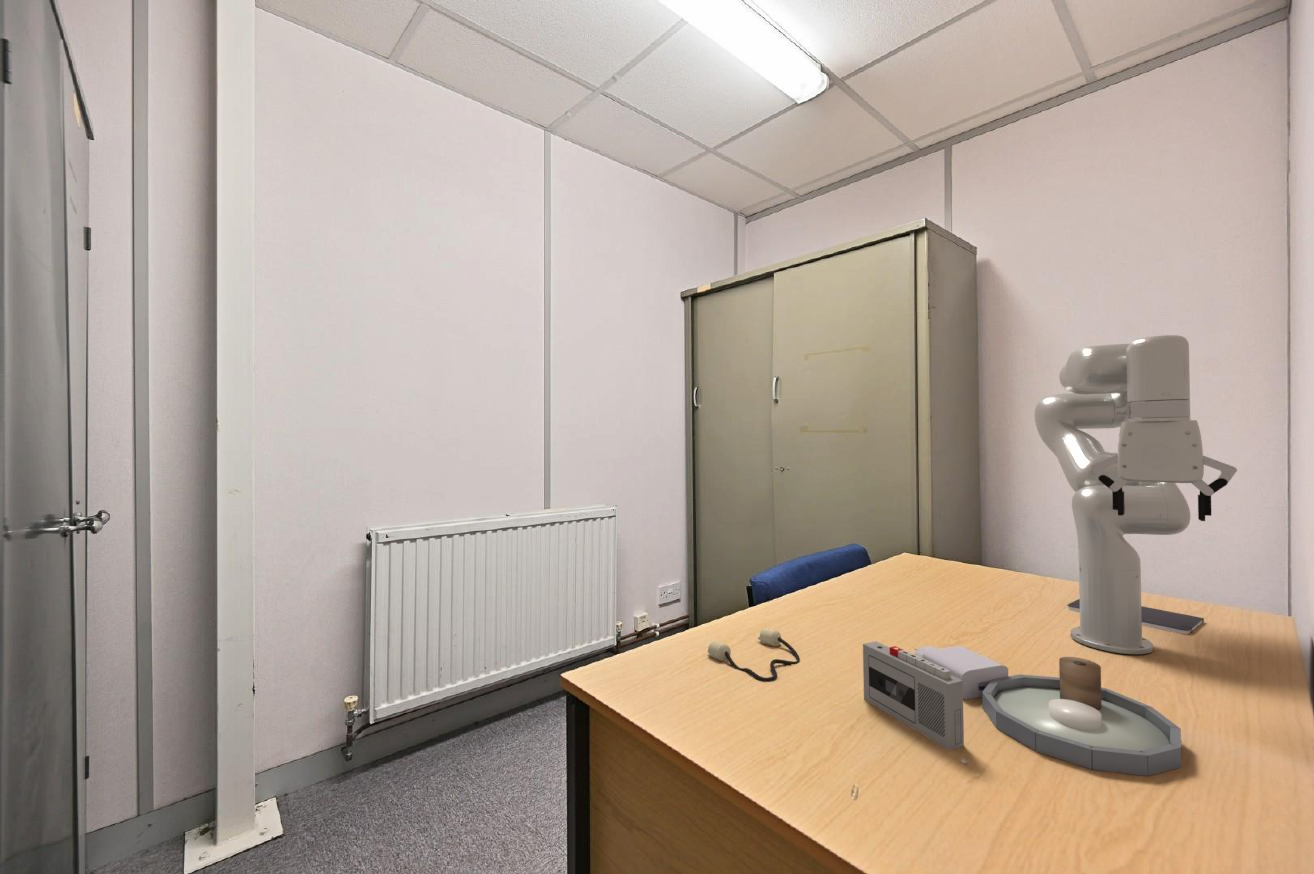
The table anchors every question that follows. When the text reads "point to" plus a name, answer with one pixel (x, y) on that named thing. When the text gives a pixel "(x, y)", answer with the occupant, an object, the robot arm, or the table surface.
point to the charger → (965, 667)
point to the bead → (1080, 681)
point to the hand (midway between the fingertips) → (1159, 517)
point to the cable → (766, 636)
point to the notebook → (1160, 619)
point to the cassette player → (915, 692)
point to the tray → (1083, 726)
